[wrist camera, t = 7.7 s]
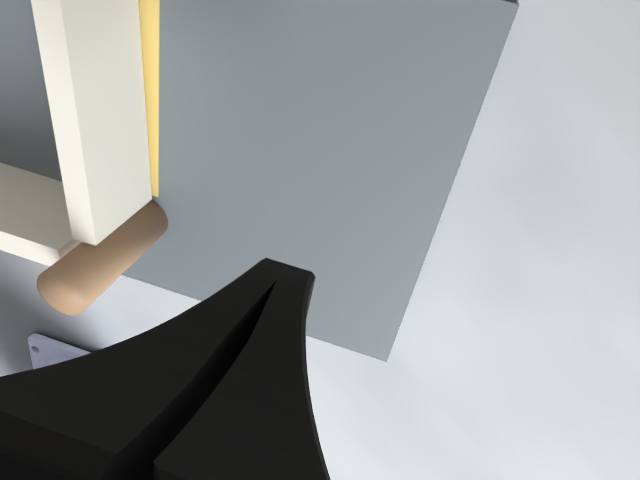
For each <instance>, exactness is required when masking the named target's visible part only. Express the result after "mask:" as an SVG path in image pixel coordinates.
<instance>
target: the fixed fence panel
mask: <svg viewBox="0 0 640 480" xmlns="http://www.w3.org/2000/svg"><path fill="white" fill-rule="evenodd" d="M167 228H168V218H167V216H166V213H165V212H164V210H163V209H162V208H161V207H160V206H159V205H158V204H157V203H155V202H154V201H152V200H150V201H149V202H148V203H147V204H146V205H144V206H143V207H142V208H141V209H140V210H138V211H137V212H136V213H135V214H134V215H132V216H131V217H130V218H129V219H128V220H126V221H125V222H124V223H123V224H122V225H120V226H119V227H118V228H117V229H116V230H114V231H113V232H112V233H111V234H109V235H108V236H107V237H106V238H105V239H103V240H102V241H101V242H100V243H99V244H97V245H92V244H88V243H85V242H81V241H77V240H73V238H72V233H71V227H70V221H69V216H68V210H67V204H66V198H65V193H64V187H63V183H62V182H59V181H56V180H53V179H50V178H46V177H43V176H40V175H37V174H33V173H30V172H27V171H24V170H21V169H17V168H14V167H11V166H8V165H4V164H1V163H0V250H2V251H5V252H8V253H11V254H14V255H17V256H20V257H23V258H26V259H29V260H32V261H35V262H38V263H41V264H44V265H47V266H50V267H49V268H48V269H47V270H45V271H44V272H43V273H42V274H40V275H39V277H38V279H37V287H38V290H39V293H40V295H41V296H42V298H43V299H44V300H45V301H46V303H47V304H49V305H50V306H51V307H52V308H53V309H55V310H57V311H58V312H60V313H63V314H66V315H72V316H74V315H79V314H81V313H82V312H83V311H84V310H85V309H86V308H87V307H88V306H89V305H90V304H92V303H93V302H94V301H95V300H96V299H97V298H98V297H99V296H100V295H101V294H102V293H103V292H104V291H105V290H106V289H107V288H108V287H109V286H110V285H111V284H112V283H113V282H114V281H115V280H116V279H117V278H118V277H119V276H120V275H121V274H122V273H123V272H125V271H126V270H127V269H128V268H129V267H130V266H131V265H132V264H133V263H134V262H135V261H136V260H137V259H138V258H139V257H140V256H141V255H142V254H143V253H144V252H145V251H146V250H147V249H148V248H149V247H150V246H151V245H152V244H153V243H154V242H155V241H156V240H158V239H159V238H160V237H161V236H162V235H163V234H164V233H165V232H166V230H167Z"/></svg>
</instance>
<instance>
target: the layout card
mask: <svg viewBox="0 0 640 480" xmlns="http://www.w3.org/2000/svg"><path fill="white" fill-rule="evenodd" d="M138 5H139V20H140V34H141V48H142V63H143V77H144V91H145V106H146V120H147V134H148V149H149V163H150V177H151V192H152V201H154V202H155V203H157V204H158V205H159V206H160V207H161V208H162V209H163V210H164V212H165V213H166V216H167V218H168V228H167V230H166V232H165V233H164V234H163V235H162V236H161V237H160V238H159V239H158V240H156V241H155V242H154V243H153V244H152V245H151V246H150V247H149V248H148V249H147V250H146V251H145V252H144V253H143V254H142V255H141V256H140V257H139V258H138V259H137V260H136V261H135V262H134V263H133V264H132V265H131V266H130V267H129V268H128V269H127V270H126V271H125V272H123V273H122V274H121V275H124V276H127V277H130V278H133V279H136V280H139V281H142V282H146V283H149V284H152V285H155V286H158V287H161V288H164V289H167V290H170V291H173V292H176V293H179V294H182V295H185V296H188V297H191V298H194V299H197V300H200V301H203V300H205V299H207V298H208V297H210V296H211V295H213V294H214V293H216V292H217V291H219V290H220V289H222V288H223V287H225V286H226V285H228V284H229V283H231V282H232V281H234V280H235V279H236V278H238V277H239V276H241V275H242V274H243V273H245V272H246V271H247V270H249V269H250V268H251V267H253V266H254V265H255V264H257V263H258V262H259V261H261V260H262V259H264V258H269V259H272V260H275V261H278V262H282V263H285V264H288V265H292V266H295V267H298V268H301V269H305V270H308V271H311V272H313V274H314V275H315V277H316V278H315V282H314V287H313V291H312V296H311V300H310V305H309V309H308V314H307V318H306V335H307V336H310V337H313V338H316V339H319V340H322V341H325V342H328V343H331V344H334V345H337V346H340V347H343V348H346V349H349V350H352V351H355V352H358V353H361V354H364V355H367V356H370V357H373V358H376V359H379V360H382V361H386V362H387V359H388V357H389V354H390V351H391V349H392V346H393V343H394V341H395V338H396V335H397V332H398V330H399V327H400V324H401V322H402V319H403V316H404V314H405V311H406V308H407V306H408V303H409V300H410V297H411V295H412V292H413V289H414V287H415V284H416V281H417V279H418V276H419V273H420V271H421V268H422V265H423V263H424V260H425V257H426V254H427V252H428V249H429V246H430V244H431V241H432V238H433V236H434V233H435V230H436V228H437V225H438V222H439V219H440V217H441V214H442V211H443V209H444V206H445V203H446V201H447V198H448V195H449V193H450V190H451V187H452V184H453V182H454V179H455V176H456V174H457V171H458V168H459V166H460V163H461V160H462V158H463V155H464V152H465V150H466V147H467V144H468V141H469V139H470V136H471V133H472V131H473V128H474V125H475V123H476V120H477V117H478V115H479V112H480V109H481V106H482V104H483V101H484V98H485V96H486V93H487V90H488V88H489V85H490V82H491V80H492V77H493V74H494V71H495V69H496V66H497V63H498V61H499V58H500V55H501V53H502V50H503V47H504V45H505V42H506V39H507V37H508V34H509V31H510V28H511V26H512V23H513V20H514V18H515V15H516V12H517V10H518V7H519V3H516V2H511V1H507V0H138ZM0 163H1V164H4V165H8V166H11V167H14V168H17V169H21V170H24V171H27V172H30V173H33V174H37V175H40V176H43V177H46V178H50V179H53V180H56V181H59V182H62V183H63V181H62V176H61V170H60V164H59V158H58V153H57V147H56V141H55V136H54V130H53V124H52V119H51V113H50V107H49V101H48V96H47V90H46V84H45V79H44V73H43V67H42V61H41V56H40V50H39V44H38V39H37V33H36V27H35V22H34V16H33V10H32V4H31V0H0Z"/></svg>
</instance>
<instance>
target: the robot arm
mask: <svg viewBox="0 0 640 480" xmlns="http://www.w3.org/2000/svg"><path fill="white" fill-rule="evenodd" d="M315 278H316V277H315V275H314V274H313V272H311V271H308V270H305V269H301V268H298V267H295V266H292V265H288V264H285V263H282V262H278V261H275V260H272V259H269V258H264V259H262V260H261V261H259V262H258V263H257V264H255V265H254V266H253V267H251V268H250V269H249V270H247V271H246V272H245V273H243V274H242V275H241V276H239V277H238V278H236V279H235V280H234V281H232V282H231V283H229V284H228V285H226V286H225V287H223V288H222V289H220V290H219V291H217V292H216V293H214V294H213V295H211V296H210V297H208V298H207V299H205V300H203V301H202V302H200V303H198V304H197V305H195V306H193V307H192V308H190V309H188V310H186V311H185V312H183V313H181V314H180V315H178V316H176V317H174V318H172V319H170V320H168V321H166V322H164V323H162V324H160V325H158V326H156V327H154V328H152V329H150V330H148V331H146V332H144V333H141V334H139V335H137V336H134V337H132V338H129V339H127V340H125V341H122V342H119V343H117V344H114V345H112V346H109V347H106V348H104V349H101V350H98V351H95V352H92V353H91V352H88V351H85V350H82V349H80V348H77V347H74V346H71V345H68V344H65V343H63V342H60V341H57V340H54V339H51V338H48V337H45V336H43V335H40V334H36V333H34V334H32V335H31V336H30V337H29V338H28V345H29V350H30V355H31V361H32V366H33V369H32V370H28V371H24V372H19V373H15V374H11V375H6V376H2V377H0V480H330V477H329V474H328V470H327V467H326V464H325V460H324V457H323V453H322V449H321V446H320V442H319V437H318V433H317V428H316V424H315V419H314V414H313V410H312V404H311V397H310V391H309V383H308V374H307V362H306V318H307V314H308V309H309V305H310V300H311V296H312V291H313V287H314V282H315Z"/></svg>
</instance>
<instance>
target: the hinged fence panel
mask: <svg viewBox="0 0 640 480" xmlns="http://www.w3.org/2000/svg"><path fill="white" fill-rule="evenodd" d="M31 4H32V10H33V16H34V22H35V27H36V33H37V39H38V44H39V50H40V56H41V61H42V67H43V73H44V79H45V84H46V90H47V96H48V101H49V107H50V113H51V119H52V124H53V130H54V136H55V141H56V147H57V153H58V158H59V164H60V170H61V176H62V181H63V187H64V193H65V198H66V204H67V210H68V216H69V221H70V227H71V233H72V238H73V240H77V241H81V242H85V243H88V244H92V245H97V244H99V243H100V242H101V241H102V240H103V239H105V238H106V237H107V236H108V235H109V234H111V233H112V232H113V231H114V230H116V229H117V228H118V227H119V226H120V225H122V224H123V223H124V222H125V221H126V220H128V219H129V218H130V217H131V216H132V215H134V214H135V213H136V212H137V211H138V210H140V209H141V208H142V207H143V206H144V205H146V204H147V203H148V202H149V201H150V200H152V192H151V177H150V163H149V149H148V134H147V120H146V106H145V91H144V77H143V63H142V48H141V34H140V20H139V5H138V0H31Z"/></svg>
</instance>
